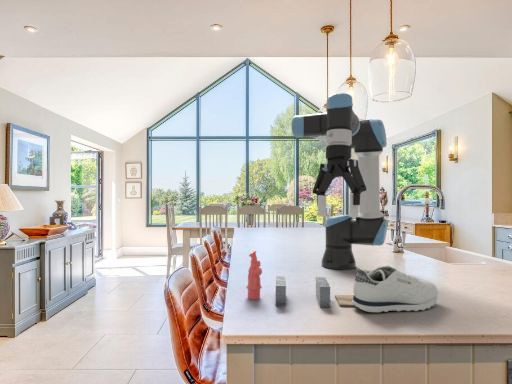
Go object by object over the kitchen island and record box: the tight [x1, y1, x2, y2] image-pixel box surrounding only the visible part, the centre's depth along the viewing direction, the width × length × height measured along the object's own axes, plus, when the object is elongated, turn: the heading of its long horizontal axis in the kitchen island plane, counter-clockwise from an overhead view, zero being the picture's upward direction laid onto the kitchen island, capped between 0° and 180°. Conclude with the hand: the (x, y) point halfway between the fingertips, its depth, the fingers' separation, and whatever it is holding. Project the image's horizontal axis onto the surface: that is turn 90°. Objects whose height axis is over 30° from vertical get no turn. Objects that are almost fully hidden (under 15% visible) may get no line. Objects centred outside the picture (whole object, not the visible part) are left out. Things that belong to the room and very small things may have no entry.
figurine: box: [245, 250, 263, 300], centre depth 117 cm, size 5×5×15 cm
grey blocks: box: [275, 276, 331, 308], centre depth 114 cm, size 12×16×6 cm
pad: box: [334, 294, 357, 308], centre depth 113 cm, size 10×10×1 cm
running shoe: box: [352, 265, 438, 313], centre depth 108 cm, size 11×29×12 cm, turn 112°
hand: (336, 216), depth 108 cm, fingers open, 13 cm apart
